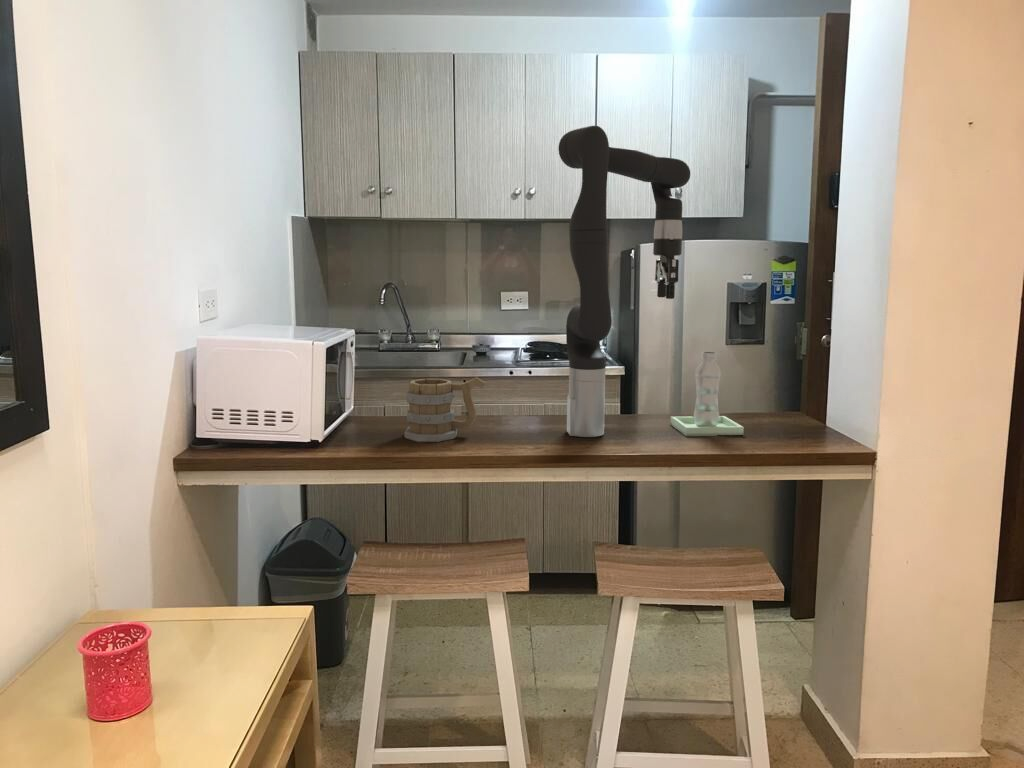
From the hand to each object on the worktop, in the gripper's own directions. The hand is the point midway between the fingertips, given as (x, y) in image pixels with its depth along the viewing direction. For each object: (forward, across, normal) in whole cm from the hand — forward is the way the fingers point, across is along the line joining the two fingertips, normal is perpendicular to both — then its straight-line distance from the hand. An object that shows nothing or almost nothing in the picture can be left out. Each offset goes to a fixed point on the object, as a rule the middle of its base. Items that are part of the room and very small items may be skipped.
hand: (665, 298), depth 201 cm
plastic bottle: (+34, +13, +8) cm, 37 cm away
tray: (+34, +13, +8) cm, 37 cm away
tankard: (+34, +17, -60) cm, 71 cm away
